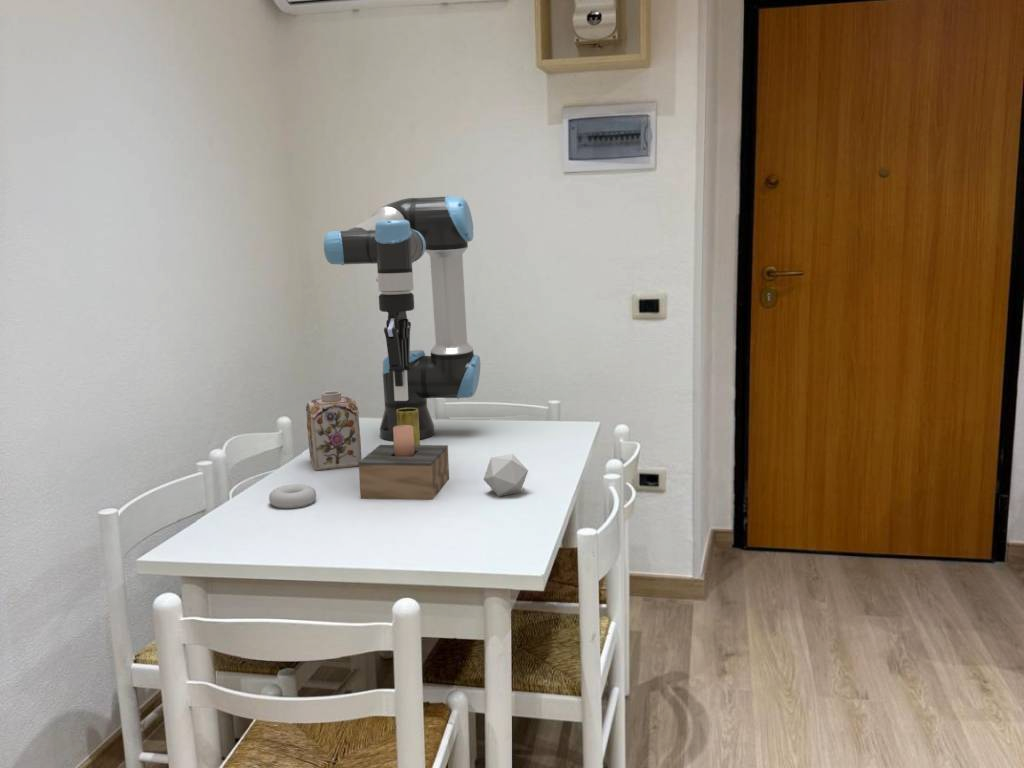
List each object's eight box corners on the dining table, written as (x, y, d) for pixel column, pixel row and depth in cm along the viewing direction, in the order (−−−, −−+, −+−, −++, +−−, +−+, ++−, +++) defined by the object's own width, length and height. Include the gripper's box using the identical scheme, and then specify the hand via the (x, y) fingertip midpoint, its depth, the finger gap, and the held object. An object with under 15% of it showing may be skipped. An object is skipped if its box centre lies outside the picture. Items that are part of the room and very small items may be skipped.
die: (517, 487, 215) (489, 453, 214) (542, 474, 209) (513, 439, 208) (498, 510, 209) (468, 475, 208) (523, 497, 203) (493, 461, 202)
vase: (418, 470, 229) (415, 412, 227) (394, 470, 230) (390, 412, 228) (425, 464, 235) (423, 407, 233) (401, 463, 236) (398, 407, 234)
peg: (398, 458, 216) (396, 424, 215) (416, 458, 215) (415, 425, 214) (392, 463, 212) (390, 429, 210) (411, 463, 211) (410, 429, 210)
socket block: (382, 478, 224) (380, 444, 222) (449, 479, 221) (447, 445, 220) (360, 498, 208) (358, 462, 207) (432, 499, 205) (430, 463, 204)
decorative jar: (355, 455, 246) (351, 386, 243) (363, 466, 235) (358, 394, 232) (308, 460, 243) (303, 390, 240) (313, 471, 232) (308, 398, 229)
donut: (311, 495, 213) (265, 500, 209) (310, 480, 212) (264, 485, 208) (321, 507, 204) (273, 513, 200) (320, 491, 203) (272, 497, 199)
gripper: (387, 290, 214) (393, 394, 218) (370, 295, 201) (376, 405, 205) (420, 290, 213) (425, 394, 217) (404, 294, 200) (410, 405, 204)
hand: (401, 400), depth 211 cm, fingers closed
